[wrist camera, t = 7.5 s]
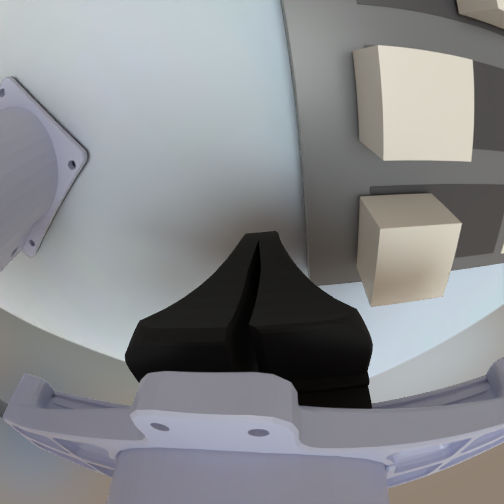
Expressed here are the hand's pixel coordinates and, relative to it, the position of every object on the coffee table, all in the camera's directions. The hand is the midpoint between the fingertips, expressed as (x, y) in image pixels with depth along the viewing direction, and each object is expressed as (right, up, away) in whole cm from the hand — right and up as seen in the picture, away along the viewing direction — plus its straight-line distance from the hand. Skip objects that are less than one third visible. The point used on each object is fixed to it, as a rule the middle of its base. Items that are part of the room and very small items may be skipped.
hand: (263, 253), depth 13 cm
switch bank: (+8, +7, -2) cm, 11 cm away
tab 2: (+6, +1, 0) cm, 6 cm away
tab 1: (+5, +6, -3) cm, 9 cm away
